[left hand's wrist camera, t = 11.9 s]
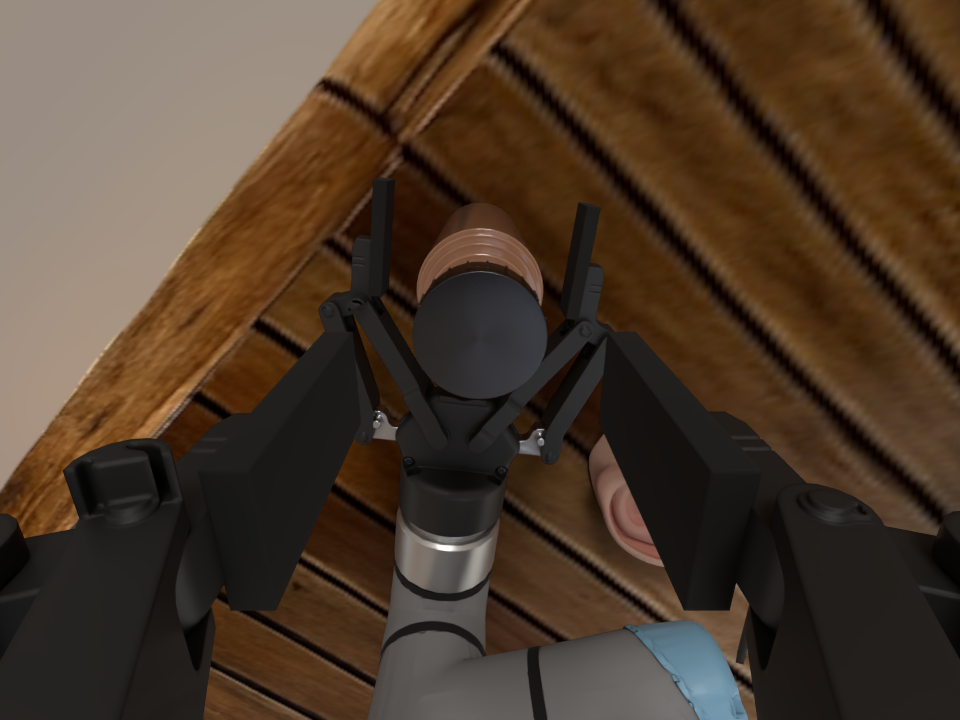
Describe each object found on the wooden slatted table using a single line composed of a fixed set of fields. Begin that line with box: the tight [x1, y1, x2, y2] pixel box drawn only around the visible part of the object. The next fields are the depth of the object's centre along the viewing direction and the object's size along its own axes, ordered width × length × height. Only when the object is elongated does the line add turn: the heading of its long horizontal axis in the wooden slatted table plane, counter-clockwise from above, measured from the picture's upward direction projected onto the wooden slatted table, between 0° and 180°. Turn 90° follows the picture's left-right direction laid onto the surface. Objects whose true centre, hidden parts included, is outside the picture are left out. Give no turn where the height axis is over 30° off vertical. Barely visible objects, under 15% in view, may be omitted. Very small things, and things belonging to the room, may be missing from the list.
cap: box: [412, 260, 548, 399], centre depth 18 cm, size 5×5×2 cm
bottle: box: [417, 203, 543, 306], centre depth 27 cm, size 6×6×20 cm
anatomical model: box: [589, 434, 664, 567], centre depth 41 cm, size 13×4×12 cm
